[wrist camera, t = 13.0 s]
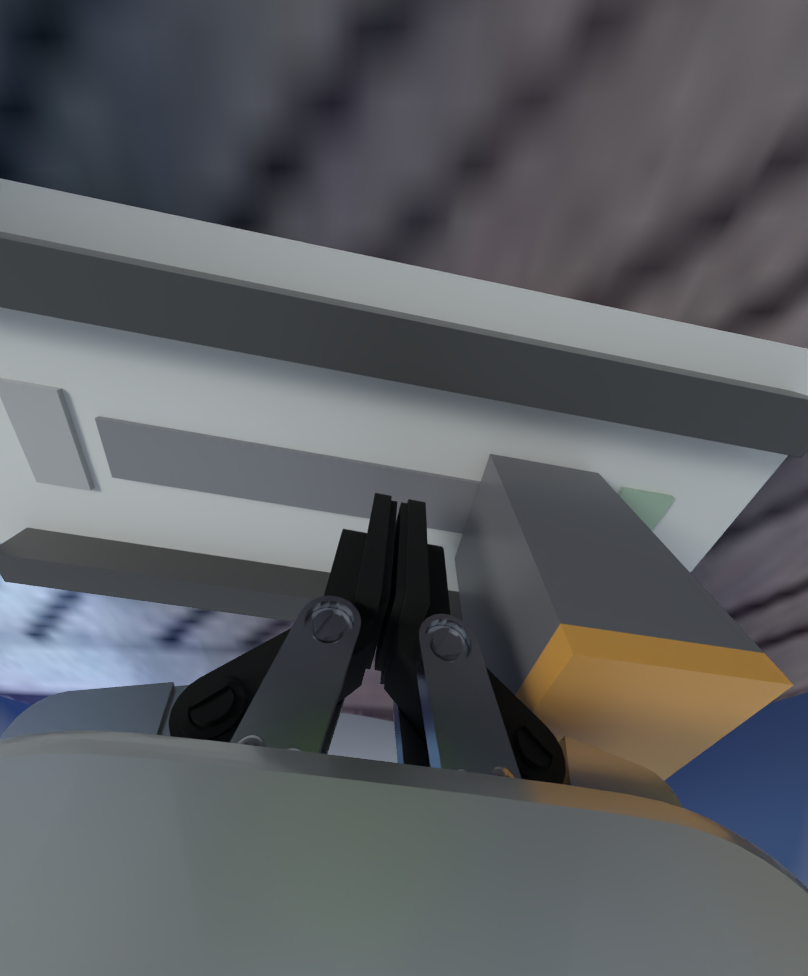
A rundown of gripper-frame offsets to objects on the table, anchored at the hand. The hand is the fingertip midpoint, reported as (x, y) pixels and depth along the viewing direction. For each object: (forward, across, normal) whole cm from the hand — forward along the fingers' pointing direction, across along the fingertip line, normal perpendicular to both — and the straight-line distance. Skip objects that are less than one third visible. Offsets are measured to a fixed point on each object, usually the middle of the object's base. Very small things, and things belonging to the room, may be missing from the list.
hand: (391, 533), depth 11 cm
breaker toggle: (+2, -5, 0) cm, 5 cm away
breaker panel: (+6, +2, 0) cm, 6 cm away
